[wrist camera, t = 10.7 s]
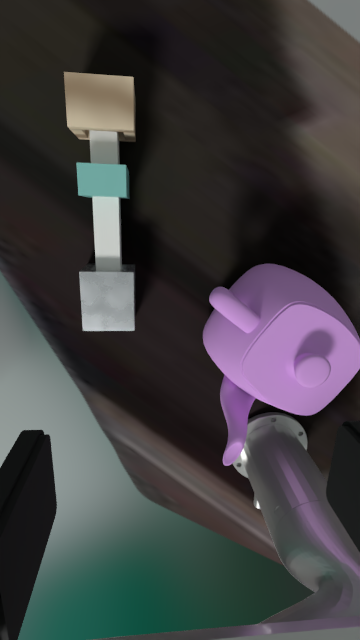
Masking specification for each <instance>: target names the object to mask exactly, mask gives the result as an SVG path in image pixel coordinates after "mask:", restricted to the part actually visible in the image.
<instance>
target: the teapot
mask: <svg viewBox="0 0 360 640" xmlns="http://www.w3.org/2000/svg"><path fill="white" fill-rule="evenodd" d="M209 300H210V303H211V305H212V306H213V307H214V308H215V309H214V310H213V312H212V313H211V315H210V317H209V319H208V320H207V322H206V324H205V328H204V331H203V342H204V345H205V348H206V350H207V352H208V354H209V355H210V357H211V358H212V360H213V361H214V362H215V364H216V365H217V366H218V367H219V369H220V370H221V371H222V372H223V373H224V378H223V381H222V386H221V391H220V399H221V405H222V408H223V412H224V415H225V418H226V421H227V425H228V443H227V446H226V449H225V452H224V456H223V464H224V465H226V466H228V465H231V464H232V463H233V462H234V461H235V460H236V459H237V458H238V457H239V455H240V454H241V452H242V450H243V448H244V445H245V441H246V436H247V425H248V414H249V411H250V408H251V406H252V404H253V401H254V400H255V398H257V399H259V400H261V401H263V402H265V403H267V404H270V405H272V406H275V407H277V408H279V409H282V410H285V411H287V412H290V413H294V414H297V415H304V416H307V415H313V414H315V413H317V412H319V411H320V410H321V409H323V408H324V407H325V406H326V405H327V404H328V403H330V402H331V401H332V400H333V399H334V398H335V397H336V396H337V395H338V394H339V392H340V391H341V390H342V389H343V388H344V387H345V386H346V385H347V384H348V383H349V381H350V380H351V379H352V378H353V377H354V375H355V374H356V373H357V372H358V370H359V369H360V338H359V336H358V334H357V332H356V330H355V328H354V326H353V324H352V322H351V321H350V319H349V318H348V316H347V315H346V313H345V312H344V310H343V309H342V308H341V306H340V305H339V304H338V303H337V302H336V300H335V299H334V298H333V297H332V296H331V295H330V294H329V293H328V292H326V291H325V290H324V289H323V288H322V287H321V286H319V285H318V284H317V283H315V282H314V281H313V280H311V279H309V278H308V277H306V276H304V275H302V274H300V273H298V272H296V271H294V270H292V269H289V268H287V267H284V266H280V265H276V264H268V263H267V264H260V265H257V266H255V267H253V268H251V269H249V270H248V271H247V272H245V273H244V274H243V275H242V276H241V277H240V278H239V279H238V280H237V281H236V282H235V283H234V284H233V285H232V286H231V287H230V289H229V290H228V289H226V288H225V287H217V288H215V289H214V290H213V291H212V292H211V294H210V297H209Z"/></svg>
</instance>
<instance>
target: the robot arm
mask: <svg viewBox="0 0 360 640" xmlns="http://www.w3.org/2000/svg"><path fill="white" fill-rule="evenodd" d="M307 442H308V441H307V435H306V433H305V431H304V429H303V427H302V426H301V424H300V423H299V422H298V421H297V420H296V419H294V418H293V417H291V416H289V415H287V414H284V413H279V412H269V413H263V414H259V415H256V416H254V417H252V418H250V419H248V425H247V436H246V441H245V445H244V448H243V450H242V452H241V454H240V455H239V457H238V458H237V459H236V460H235V461H234V462H233V465H234V467H235V468H236V470H237V471H238V472H239V473H241V474H242V475H243V476H245V477H247V478H249V480H250V483H251V485H252V488H253V490H254V493H255V495H254V506H255V507H256V508H258V509H261V511H262V514H263V516H264V519H265V521H266V524H267V527H268V529H269V532H270V534H271V537H272V540H273V542H274V545H275V547H276V550H277V552H278V555H279V557H280V559H281V561H282V563H283V564H284V566H285V567H286V568H287V570H288V571H289V572H290V573H291V574H292V575H293V576H294V577H295V578H296V579H297V580H299V581H300V582H301V583H302V584H304V585H305V586H307V587H308V588H309V589H311V590H313V591H314V592H316V593H314V594H313V595H311V596H309V597H307V598H306V599H305V600H303V601H301V602H299V603H297V604H295V605H293V606H291V607H289V608H287V609H285V610H283V611H282V612H279V613H278V614H275V615H274V616H272V617H270V618H268V619H266V620H265V621H262V622H261V623H259V624H256V625H245V626H233V627H221V628H210V629H201V630H200V629H199V630H188V631H177V632H167V633H156V634H145V635H134V636H125V637H112V638H102V639H94V640H360V421H346V422H344V423H343V424H342V426H340V427H339V428H338V431H337V436H336V441H335V446H334V452H333V457H332V462H331V467H330V472H329V477H328V482H327V481H326V479H325V478H324V476H323V475H322V473H321V472H320V470H319V469H318V467H317V466H316V464H315V463H314V461H313V460H312V458H311V457H310V455H309V454H308V452H307V451H306V450H307ZM56 503H57V502H56V492H55V483H54V472H53V462H52V452H51V442H50V436H49V435H44V432H43V430H24V431H22V432H21V433H20V435H19V437H18V438H17V440H16V442H15V444H14V445H13V447H12V449H11V450H10V452H9V454H8V456H7V457H6V459H5V461H4V463H3V464H2V466H1V468H0V640H17V639H18V636H19V633H20V629H21V626H22V623H23V620H24V617H25V613H26V610H27V607H28V603H29V600H30V597H31V594H32V591H33V587H34V584H35V580H36V577H37V574H38V571H39V568H40V564H41V561H42V558H43V555H44V551H45V548H46V545H47V542H48V538H49V535H50V532H51V529H52V525H53V522H54V519H55V515H56V508H57V507H56V506H57V504H56Z"/></svg>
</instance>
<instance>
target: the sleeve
mask: <svg viewBox="0 0 360 640" xmlns="http://www.w3.org/2000/svg"><path fill="white" fill-rule="evenodd" d="M79 276H80V292H81V308H82V324H83V331H134V329H135V318H136V299H135V264H122V271H105V270H96V264H89V263H88V264H87V265H86V266H85V267H84V268H83V269H82V270H81V271H79Z"/></svg>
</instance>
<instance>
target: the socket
mask: <svg viewBox="0 0 360 640" xmlns="http://www.w3.org/2000/svg"><path fill="white" fill-rule="evenodd" d="M64 79H65V95H66V111H67V126H68V127H69V129H70V130H71V131H72V132H73V133H74V134H75V135H76V136H77V137H78V138H79V139H86V140H90V132H89V130H94V131H112V132H119V141H124V142H136V133H135V90H134V78H133V77H127V76H114V75H100V74H86V73H72V72H64Z"/></svg>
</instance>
